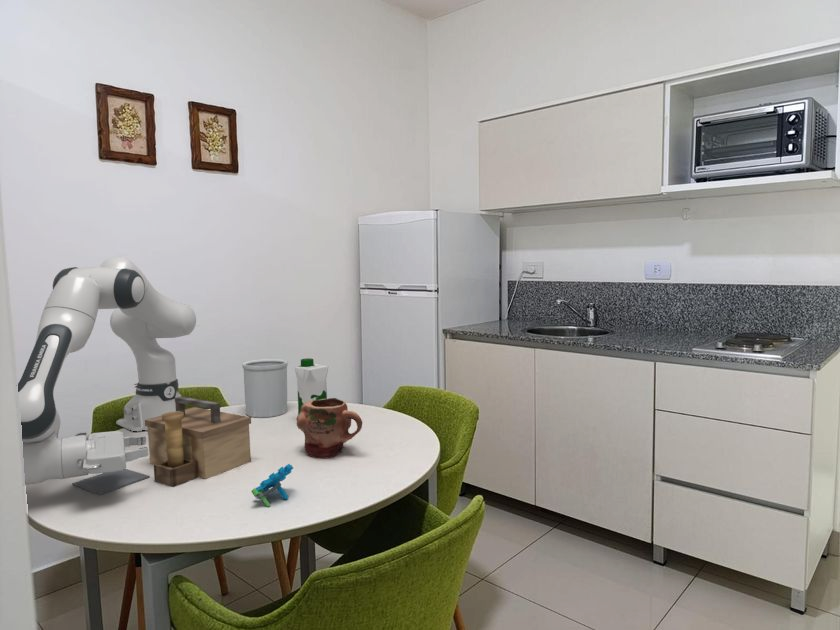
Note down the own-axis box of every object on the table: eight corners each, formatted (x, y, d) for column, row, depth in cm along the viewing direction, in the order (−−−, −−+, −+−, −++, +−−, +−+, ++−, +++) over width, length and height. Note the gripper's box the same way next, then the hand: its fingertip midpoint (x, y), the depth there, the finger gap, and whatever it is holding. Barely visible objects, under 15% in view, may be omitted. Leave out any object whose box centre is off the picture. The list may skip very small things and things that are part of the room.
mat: (72, 484, 138) (72, 483, 138) (121, 468, 148) (121, 467, 148) (100, 494, 131) (100, 493, 131) (149, 477, 141) (149, 475, 141)
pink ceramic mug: (373, 448, 159) (372, 398, 158) (354, 464, 148) (353, 410, 146) (308, 443, 166) (306, 394, 164) (285, 457, 154) (283, 405, 153)
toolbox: (123, 471, 146) (118, 407, 144) (196, 447, 164) (193, 390, 162) (180, 489, 133) (176, 419, 132) (253, 461, 152) (250, 399, 150)
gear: (279, 478, 135) (296, 455, 129) (294, 498, 133) (312, 476, 128) (240, 501, 126) (257, 477, 120) (256, 523, 124) (274, 500, 119)
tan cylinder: (161, 480, 139) (157, 415, 138) (179, 474, 143) (175, 410, 142) (174, 484, 137) (170, 417, 135) (191, 477, 141) (187, 412, 139)
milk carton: (315, 416, 194) (313, 356, 192) (333, 420, 188) (331, 359, 186) (293, 422, 187) (291, 360, 185) (311, 427, 181) (309, 363, 179)
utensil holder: (276, 404, 210) (274, 356, 209) (297, 412, 199) (295, 361, 198) (237, 412, 201) (235, 362, 199) (257, 421, 190) (254, 367, 188)
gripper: (75, 456, 120) (148, 444, 127) (79, 430, 138) (144, 422, 145) (77, 485, 121) (150, 472, 127) (81, 456, 139) (145, 446, 145)
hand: (147, 445), depth 136 cm, fingers open, 8 cm apart
